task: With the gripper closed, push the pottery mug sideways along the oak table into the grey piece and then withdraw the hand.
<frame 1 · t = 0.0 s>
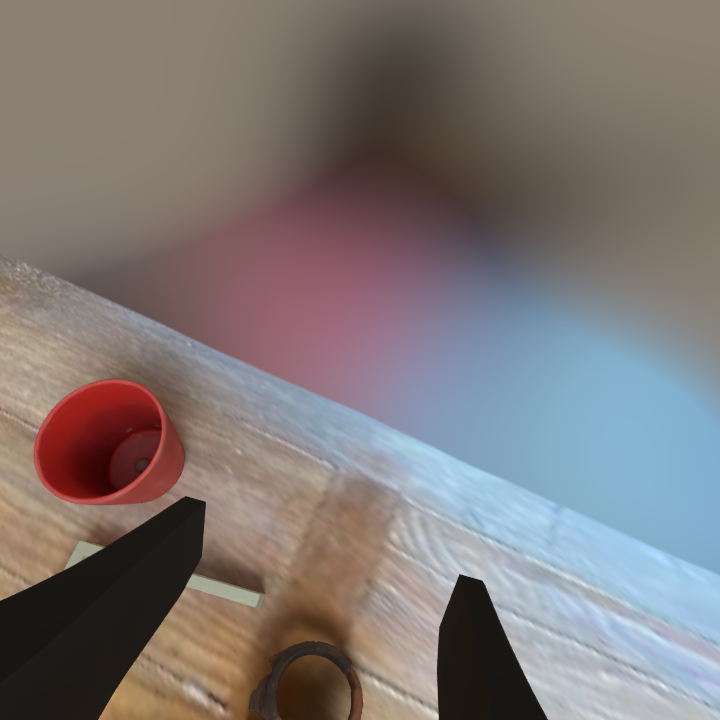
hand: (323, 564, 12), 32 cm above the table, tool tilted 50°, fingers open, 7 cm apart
flower pot: (147, 465, 45), on the table
grey piece: (154, 674, 36), on the table
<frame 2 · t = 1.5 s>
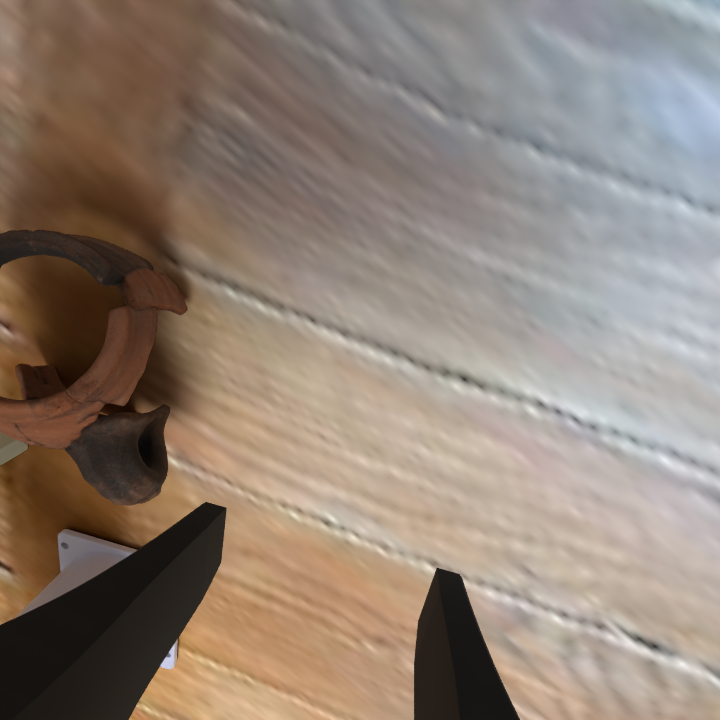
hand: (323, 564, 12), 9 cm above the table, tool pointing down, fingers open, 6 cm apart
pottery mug: (134, 352, 22), on the table
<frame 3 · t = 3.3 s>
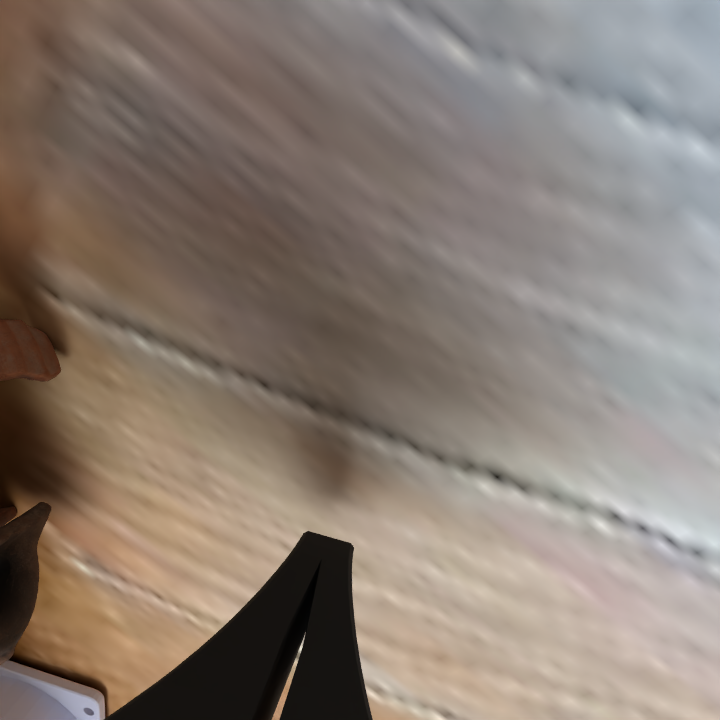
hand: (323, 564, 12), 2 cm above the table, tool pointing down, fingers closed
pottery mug: (3, 423, 15), on the table
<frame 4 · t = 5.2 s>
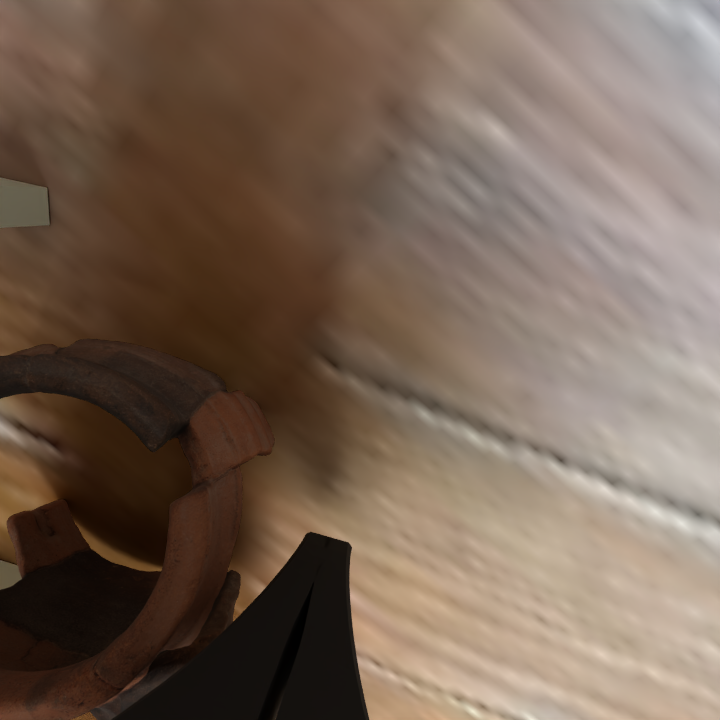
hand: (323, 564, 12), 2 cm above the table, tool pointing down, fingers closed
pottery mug: (183, 485, 15), on the table, touching gripper
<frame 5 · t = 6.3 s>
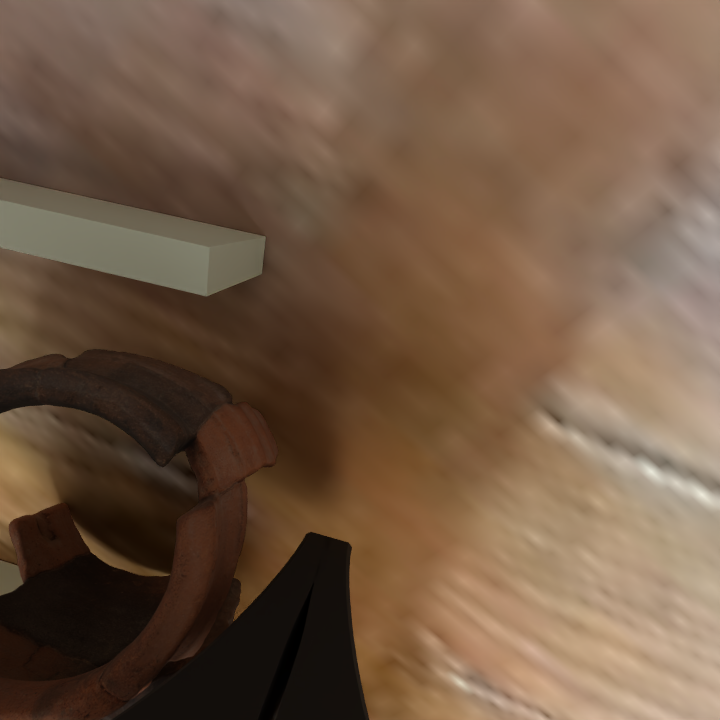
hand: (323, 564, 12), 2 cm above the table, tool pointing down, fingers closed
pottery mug: (185, 492, 15), on the table, touching gripper
grey piece: (47, 430, 15), on the table
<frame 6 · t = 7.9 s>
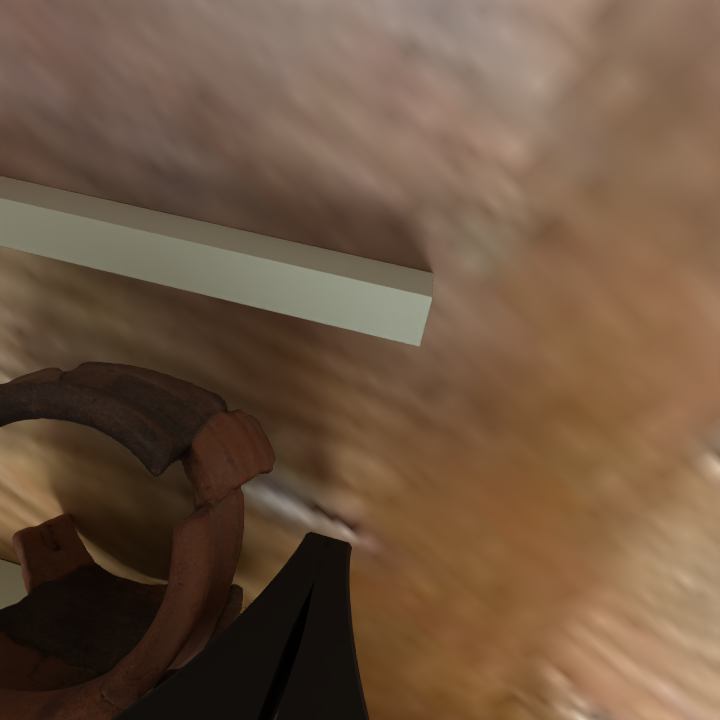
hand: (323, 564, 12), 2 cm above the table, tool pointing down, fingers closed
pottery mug: (186, 500, 15), on the table, touching gripper
grey piece: (166, 462, 14), on the table
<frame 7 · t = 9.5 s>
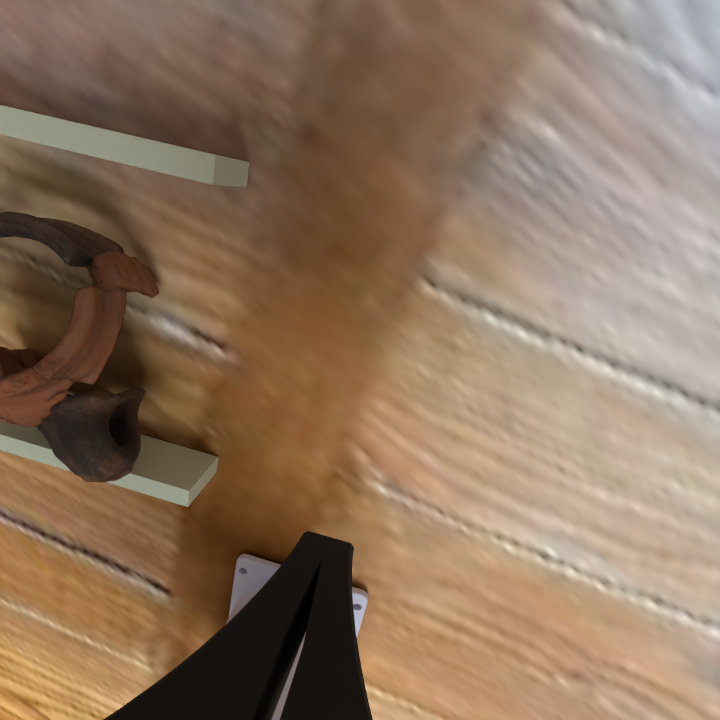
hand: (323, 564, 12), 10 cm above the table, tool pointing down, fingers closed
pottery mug: (110, 335, 22), on the table
grey piece: (99, 303, 21), on the table
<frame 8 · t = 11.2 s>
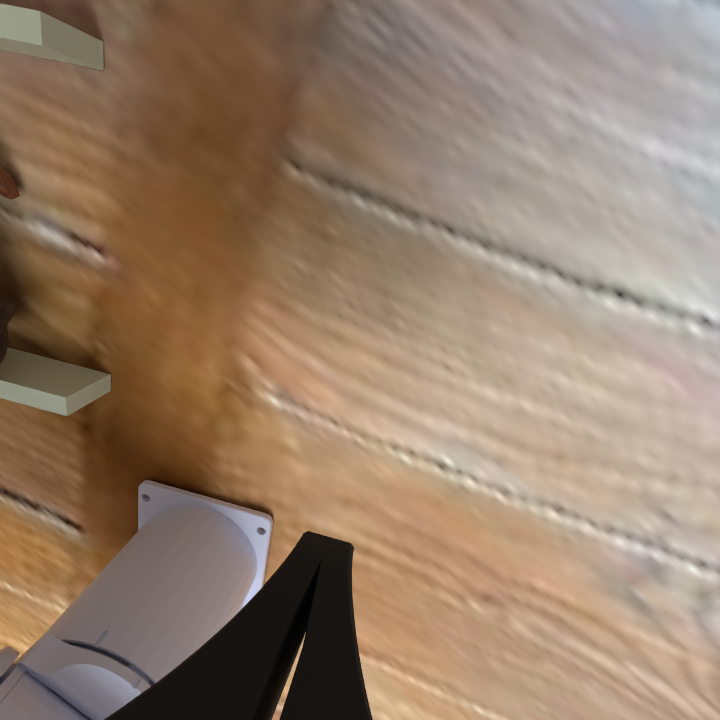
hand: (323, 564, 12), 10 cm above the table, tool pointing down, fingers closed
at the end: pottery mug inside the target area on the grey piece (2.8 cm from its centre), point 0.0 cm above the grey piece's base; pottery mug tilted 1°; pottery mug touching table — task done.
